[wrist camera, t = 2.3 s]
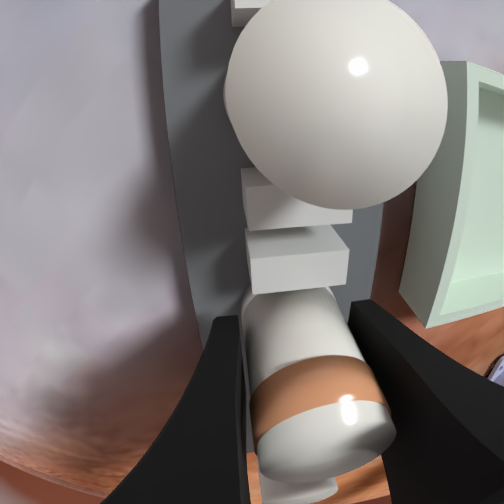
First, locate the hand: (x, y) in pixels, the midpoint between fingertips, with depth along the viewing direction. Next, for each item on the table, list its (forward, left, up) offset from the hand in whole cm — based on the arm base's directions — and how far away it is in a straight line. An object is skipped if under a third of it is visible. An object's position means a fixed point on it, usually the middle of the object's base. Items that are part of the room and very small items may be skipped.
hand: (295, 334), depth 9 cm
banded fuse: (0, 0, -1) cm, 1 cm away
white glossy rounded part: (+6, 0, -1) cm, 7 cm away
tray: (+4, -9, -3) cm, 10 cm away
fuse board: (0, 0, -3) cm, 3 cm away
